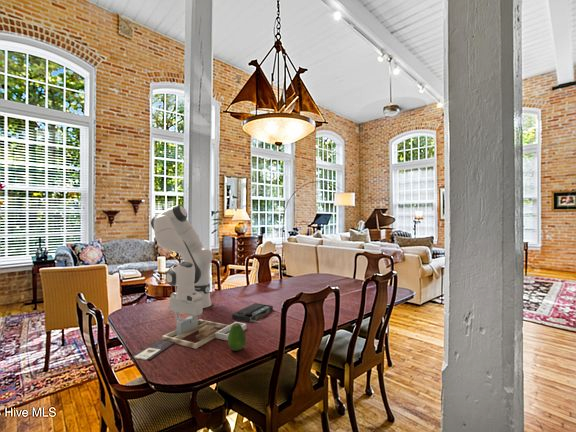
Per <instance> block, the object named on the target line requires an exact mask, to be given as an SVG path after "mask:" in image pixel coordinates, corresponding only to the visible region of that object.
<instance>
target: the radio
mask: <svg viewBox="0 0 576 432" xmlns="http://www.w3.org/2000/svg"><path fill="white" fill-rule="evenodd" d="M273 311H274V305H270V304H265V303H257V302H255V303H252V304H251V305H248V306H246V307H244V308H242V309H239V310H237V311H235V312H233V313H231V319H232V320H236V321H241V322H245V323H252V322H255V323H260V324H263V322H261V321H257V320H258V319H259V320H260V319H263V318H265V317H267V316H268V315H269V313H270V312H273Z"/></svg>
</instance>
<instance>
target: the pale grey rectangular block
mask: <svg viewBox="0 0 576 432" xmlns="http://www.w3.org/2000/svg"><path fill="white" fill-rule="evenodd" d="M198 317H199V316H196V318H195V321H194V323H193V324H192V323H190V320H191V319H192V317H191V315H189V316H187V317H185V318H181V320H176V323H175V327H176V328H175V330H176V335H175V336H177V335H179V334H181V333H184V332H186V331H188V330H190V329H192V328H194V327H196V326H198V325H199V324H198V320H199V318H198Z"/></svg>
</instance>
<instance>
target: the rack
mask: <svg viewBox="0 0 576 432" xmlns="http://www.w3.org/2000/svg"><path fill="white" fill-rule="evenodd" d="M205 325H213V326H215V328H219V329H223V328H225V327H227V326H229V325H230V324H225V323H220V322H215V321H209V320H206V319H201V318H200V319H199V318H198V326H196V327H194V328H192V329H190V330H188V331H186V332H184V333H181V334H179V335H177V336H176V329H175V330H173V331H170V332H168V333H166V334H164V335H161V340H167V341H172V342H175V344H176V345H178V346H179V345H180V346H183V347H187V348H192V349H196V350H197V349H198V348H199V347H201V346H203V345H205V344H207V343H209V342H210V341H212V340H215V339H216V338H215V333H216V332H215V333H213V334H212V335H210V336H208V337H206V338H204V339H202V340H198V341H197V342H193V341H188V340H186V339H184V338H186V337H188V336H190V335H192V334H194V333H196V332H199V329H201V328H202V327H204V326H205ZM218 331H219V330H217V332H218ZM175 344H174V345H175Z"/></svg>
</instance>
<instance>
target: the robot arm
mask: <svg viewBox="0 0 576 432" xmlns="http://www.w3.org/2000/svg"><path fill="white" fill-rule="evenodd" d="M187 218H188V212H187V210H186V209H185V207H184V206H183V205H181V204H176V205H173V206H171V207H169V208H167V209H165V210H163V211H162V212H160V213H158V214H157V215H155V216H153V217H152V218H151V220H150V226H151V228H152V229H153V231H154V237H155V240H156V243H157V244H158V246H159V247H160V248H162V249H163V250H167V251H172V252H174V253H177V254H178V255H180V256H181V258H182V261H181V262H179V263H178V264H177V266H174V267H171V268H169V269H168V270H166V271H167V272H166V273H165V281H166V283H167V284H168V285H169V286H171V287H176V292H172V293H170V296H169V297H170V298H169V302H168V309H169V311H171V312H174V316H175V320H176V321H180V320H182V317H181V315H180V314H184V315H189V316H191V317H192V319H191V320H190V323H192V324H193V323H194V321H195V318H196V316H198V317H199V316H201V315H202V314H203V311H204V310H203V309H204V308H205V309H206V308H208V307H211V306H212V301H211V294H210V290H211V284H210V269H211V264H212V260H213V259H214V254H213V252H212V250H211V249H209V248H208V247H206V246H204V245H203V244H202V242H201V240H200V237H199V235H198V232H197V231H196V230H195V228H194V227H193V225H191V223H190V221H189V220H188V219H187Z"/></svg>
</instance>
